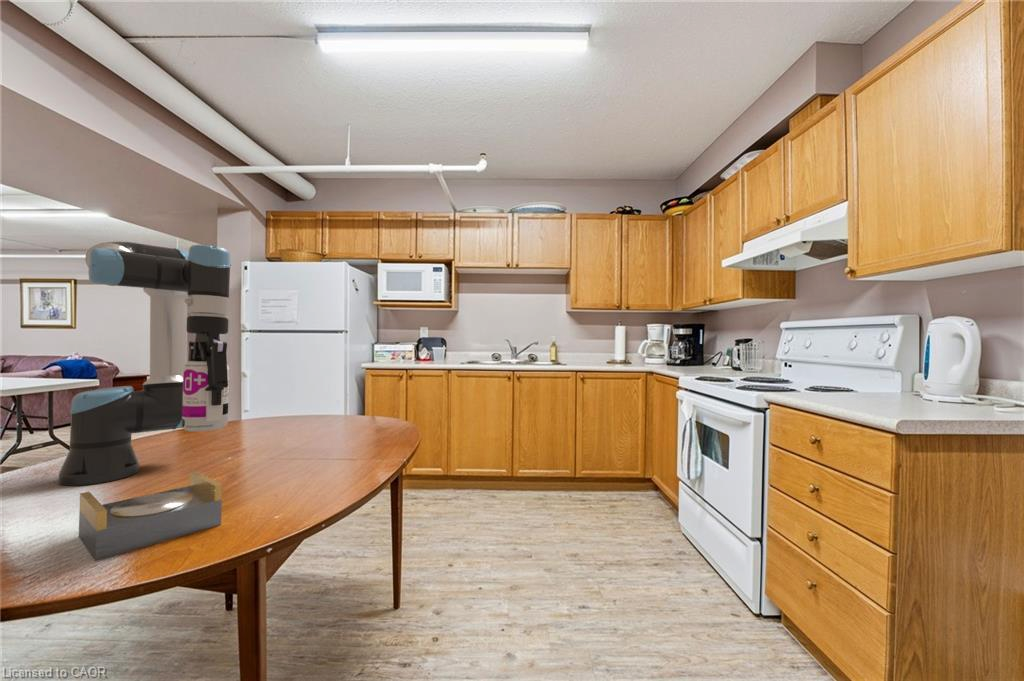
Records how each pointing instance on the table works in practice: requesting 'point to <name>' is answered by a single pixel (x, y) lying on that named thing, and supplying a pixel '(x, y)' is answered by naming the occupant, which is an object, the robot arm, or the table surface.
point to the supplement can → (200, 399)
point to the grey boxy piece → (149, 517)
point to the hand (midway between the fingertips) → (205, 418)
